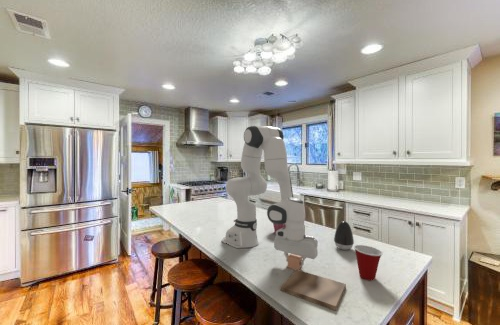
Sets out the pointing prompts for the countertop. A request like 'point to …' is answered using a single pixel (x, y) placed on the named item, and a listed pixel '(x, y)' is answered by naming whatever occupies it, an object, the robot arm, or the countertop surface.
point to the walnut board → (314, 289)
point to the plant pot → (278, 226)
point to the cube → (294, 261)
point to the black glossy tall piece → (344, 236)
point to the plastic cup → (367, 261)
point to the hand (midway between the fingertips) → (294, 263)
